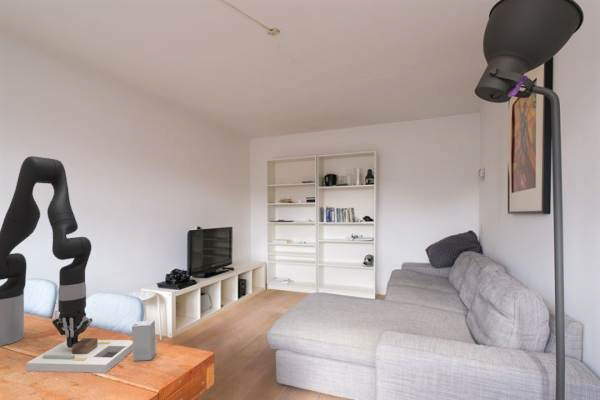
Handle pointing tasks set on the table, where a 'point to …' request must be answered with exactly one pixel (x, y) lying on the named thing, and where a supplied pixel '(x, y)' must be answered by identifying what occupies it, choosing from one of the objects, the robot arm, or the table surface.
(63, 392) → the table surface
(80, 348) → the walnut block
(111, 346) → the board
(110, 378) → the table surface
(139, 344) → the skincare box
